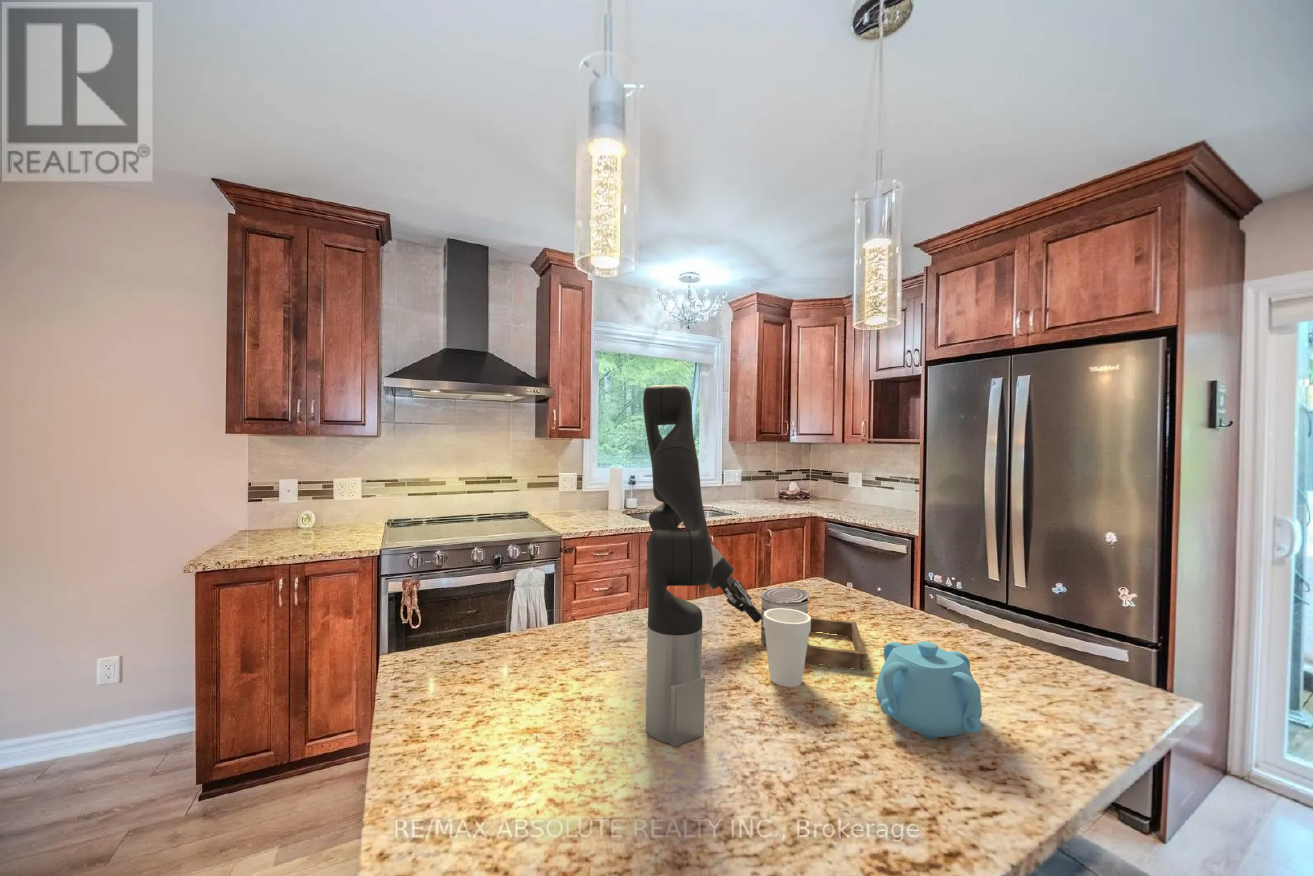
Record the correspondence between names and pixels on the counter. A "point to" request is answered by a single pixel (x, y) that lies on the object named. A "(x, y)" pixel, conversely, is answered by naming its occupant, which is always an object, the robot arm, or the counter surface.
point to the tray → (832, 654)
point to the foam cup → (786, 644)
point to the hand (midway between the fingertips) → (759, 619)
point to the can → (783, 601)
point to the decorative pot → (929, 690)
